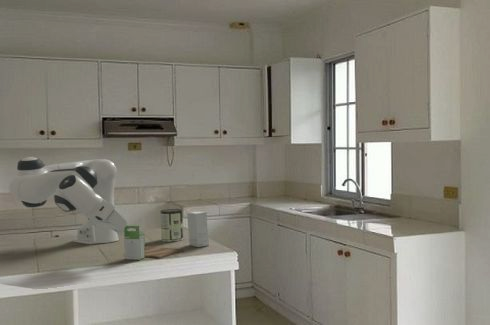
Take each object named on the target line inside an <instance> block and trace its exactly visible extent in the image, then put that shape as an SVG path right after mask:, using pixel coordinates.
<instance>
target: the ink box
mask: <svg viewBox="0 0 490 325" xmlns="http://www.w3.org/2000/svg"><path fill="white" fill-rule="evenodd" d="M129 229H134V230H129ZM123 230H124V232H123V233H124V234H123V239H124V240H123V242H124V245H123V246H124V253H125V254H124V260H130V261H131V260H132V261H133V260H134V261H141V260H144V259H146V257H145V246H146V244H145V233H140V226H139V225H126V227H125V228H124V229H123Z"/></svg>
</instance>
